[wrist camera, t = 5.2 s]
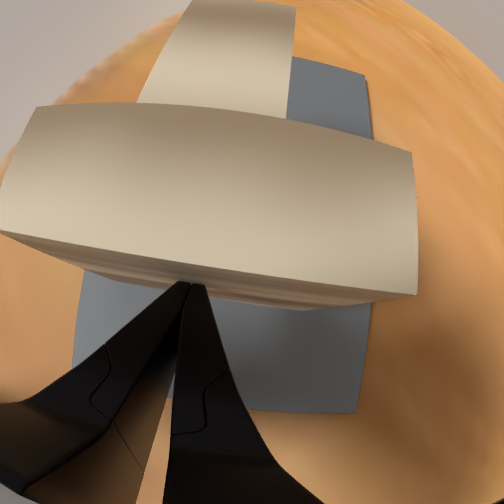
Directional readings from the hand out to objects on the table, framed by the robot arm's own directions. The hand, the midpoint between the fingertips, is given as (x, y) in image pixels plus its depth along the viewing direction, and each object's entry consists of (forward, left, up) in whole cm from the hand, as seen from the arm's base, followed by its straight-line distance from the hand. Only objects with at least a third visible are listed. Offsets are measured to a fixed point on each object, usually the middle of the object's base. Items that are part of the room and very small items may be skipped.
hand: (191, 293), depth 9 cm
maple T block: (+4, -3, -6) cm, 8 cm away
